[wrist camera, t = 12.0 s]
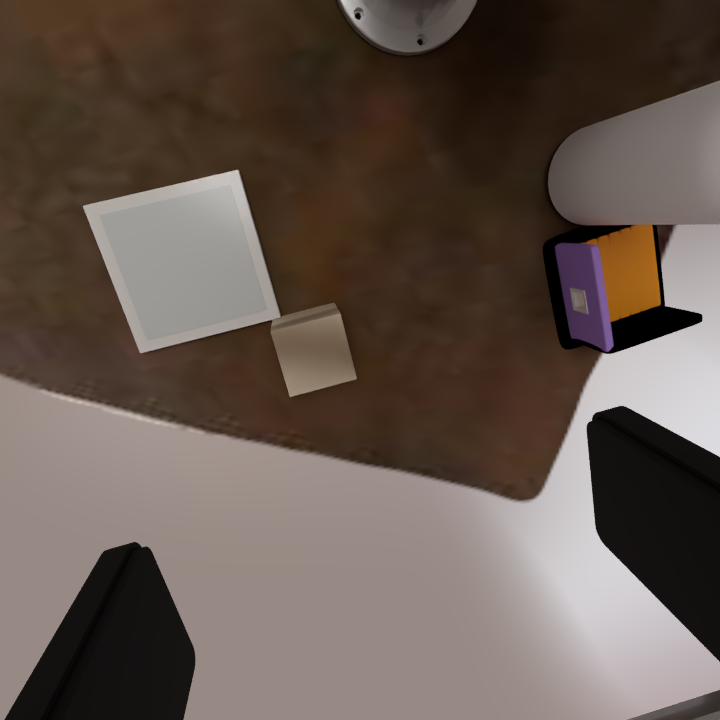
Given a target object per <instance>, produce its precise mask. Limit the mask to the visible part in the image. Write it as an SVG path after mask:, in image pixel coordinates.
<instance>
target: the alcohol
mask: <svg viewBox="0 0 720 720" xmlns="http://www.w3.org/2000/svg"><path fill="white" fill-rule="evenodd" d="M548 188H549V194H550V197H551V200H552V203H553V205H554V206H555V208H556V210H557V211H558V212H559V213H560V214H561V215H562V217H564V218H565V219H567V220H568V221H570V222H573V223H575V224H579V225H673V224H720V81H717V82H714V83H712V84H709V85H706V86H703V87H700V88H697V89H694V90H691V91H688V92H685V93H683V94H680V95H677V96H674V97H671V98H668V99H665V100H662V101H659V102H656V103H654V104H651V105H648V106H645V107H642V108H639V109H636V110H633V111H630V112H627V113H625V114H622V115H619V116H616V117H613V118H610V119H607V120H604V121H601V122H598V123H596V124H593V125H590V126H587V127H584V128H581V129H580V130H578V131H576V132H574V133H573V134H571V135H570V136H569V137H568V138H566V139H565V141H564V142H563V143H562V144H561V145H560V146H559V148H558V150H557V151H556V153H555V155H554V157H553V159H552V162H551V165H550V169H549V174H548Z"/></svg>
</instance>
